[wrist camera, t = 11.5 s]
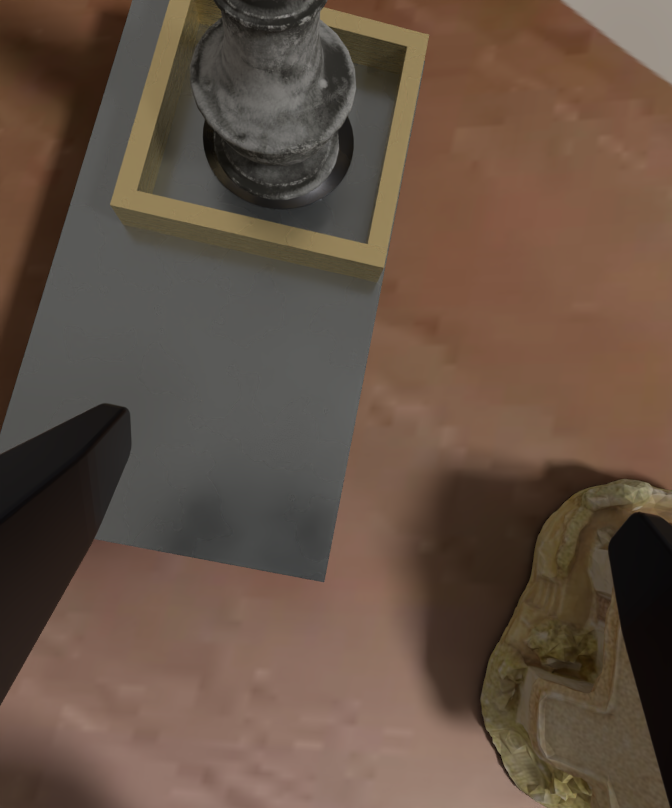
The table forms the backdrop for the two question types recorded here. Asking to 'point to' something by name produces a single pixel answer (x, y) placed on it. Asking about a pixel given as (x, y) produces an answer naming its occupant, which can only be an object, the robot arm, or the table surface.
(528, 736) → the ceramic model
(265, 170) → the grey tiered ornament
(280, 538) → the grey slab
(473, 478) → the table surface
